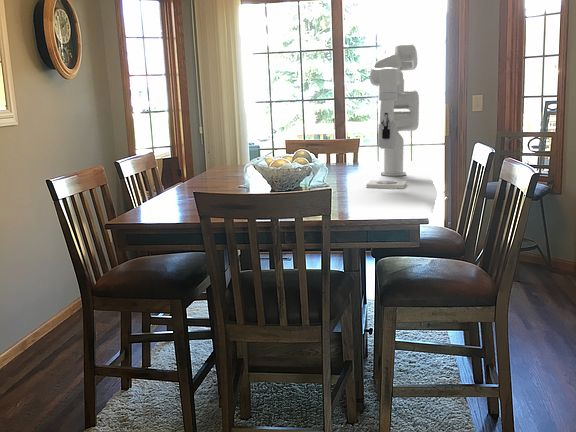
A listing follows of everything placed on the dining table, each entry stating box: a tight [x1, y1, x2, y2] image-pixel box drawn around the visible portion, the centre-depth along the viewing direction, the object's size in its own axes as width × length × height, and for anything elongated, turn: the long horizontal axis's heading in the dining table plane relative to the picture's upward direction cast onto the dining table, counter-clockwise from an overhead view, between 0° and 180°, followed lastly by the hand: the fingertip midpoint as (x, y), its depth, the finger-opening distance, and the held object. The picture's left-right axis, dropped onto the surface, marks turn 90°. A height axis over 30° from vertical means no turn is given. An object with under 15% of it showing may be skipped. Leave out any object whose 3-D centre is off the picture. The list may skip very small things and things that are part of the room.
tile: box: [365, 180, 407, 189], centre depth 272 cm, size 13×16×2 cm
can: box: [378, 121, 396, 149], centre depth 267 cm, size 8×8×12 cm
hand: (387, 137), depth 268 cm, fingers closed on can, 7 cm apart
